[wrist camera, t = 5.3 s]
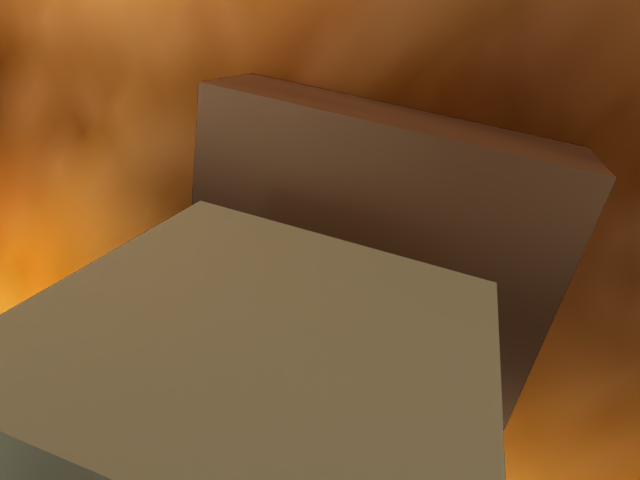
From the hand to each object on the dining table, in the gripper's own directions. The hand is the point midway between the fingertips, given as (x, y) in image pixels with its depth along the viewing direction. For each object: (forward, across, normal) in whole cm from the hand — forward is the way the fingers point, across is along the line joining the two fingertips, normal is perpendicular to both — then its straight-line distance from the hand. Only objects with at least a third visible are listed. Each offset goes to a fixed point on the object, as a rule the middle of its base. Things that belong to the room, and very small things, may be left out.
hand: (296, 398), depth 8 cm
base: (+6, 0, 0) cm, 6 cm away
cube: (+1, 0, 0) cm, 1 cm away
